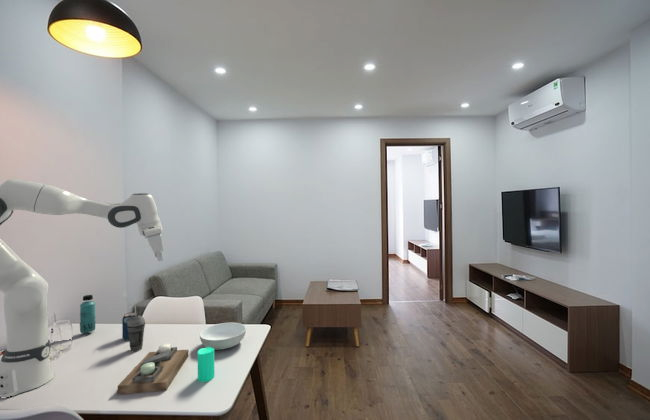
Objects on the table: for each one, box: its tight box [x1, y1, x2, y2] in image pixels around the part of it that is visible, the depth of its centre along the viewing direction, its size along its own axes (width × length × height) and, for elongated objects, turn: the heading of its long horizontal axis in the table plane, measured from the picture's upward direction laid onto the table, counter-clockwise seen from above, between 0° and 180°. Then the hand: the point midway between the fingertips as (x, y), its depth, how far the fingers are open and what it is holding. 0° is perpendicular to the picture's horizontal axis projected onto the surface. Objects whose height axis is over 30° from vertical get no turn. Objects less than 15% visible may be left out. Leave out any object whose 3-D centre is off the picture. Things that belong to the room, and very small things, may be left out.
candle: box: [197, 347, 215, 383], centre depth 114 cm, size 6×6×12 cm
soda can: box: [121, 311, 139, 341], centre depth 150 cm, size 7×7×12 cm
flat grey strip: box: [140, 351, 172, 366], centre depth 117 cm, size 10×4×1 cm, turn 98°
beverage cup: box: [127, 305, 146, 353], centre depth 138 cm, size 7×7×20 cm
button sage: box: [141, 362, 155, 375], centre depth 110 cm, size 4×4×2 cm
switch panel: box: [117, 346, 189, 395], centre depth 117 cm, size 16×25×5 cm, turn 8°
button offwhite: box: [158, 342, 172, 354], centre depth 125 cm, size 4×4×2 cm
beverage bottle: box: [79, 294, 97, 334], centre depth 156 cm, size 6×7×20 cm
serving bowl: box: [199, 322, 247, 350], centre depth 142 cm, size 21×21×7 cm
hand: (159, 258), depth 133 cm, fingers open, 8 cm apart
